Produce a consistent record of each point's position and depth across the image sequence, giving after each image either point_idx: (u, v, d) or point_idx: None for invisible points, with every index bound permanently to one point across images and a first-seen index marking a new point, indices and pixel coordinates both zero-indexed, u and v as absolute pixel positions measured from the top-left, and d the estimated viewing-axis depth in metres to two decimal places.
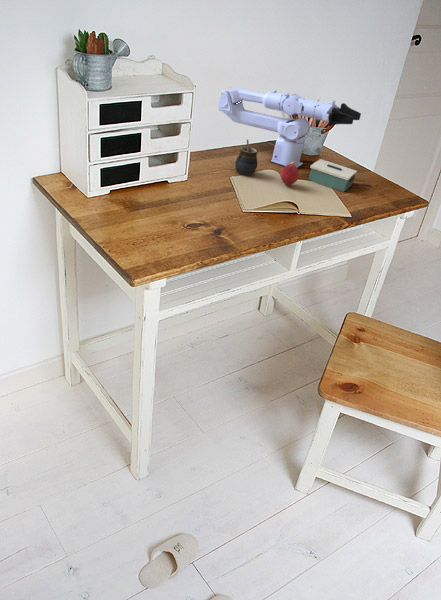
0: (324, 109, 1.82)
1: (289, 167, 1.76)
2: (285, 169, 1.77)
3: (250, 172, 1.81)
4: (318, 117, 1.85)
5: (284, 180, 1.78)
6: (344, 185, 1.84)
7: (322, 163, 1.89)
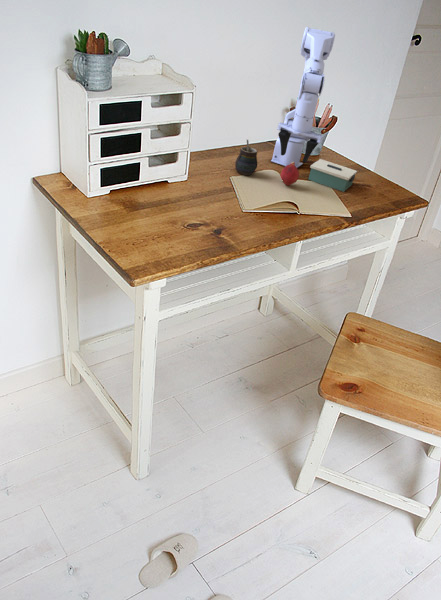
0: (292, 123, 1.70)
1: (289, 167, 1.76)
2: (285, 169, 1.77)
3: (250, 172, 1.81)
4: None
5: (284, 180, 1.78)
6: (344, 185, 1.84)
7: (322, 163, 1.89)
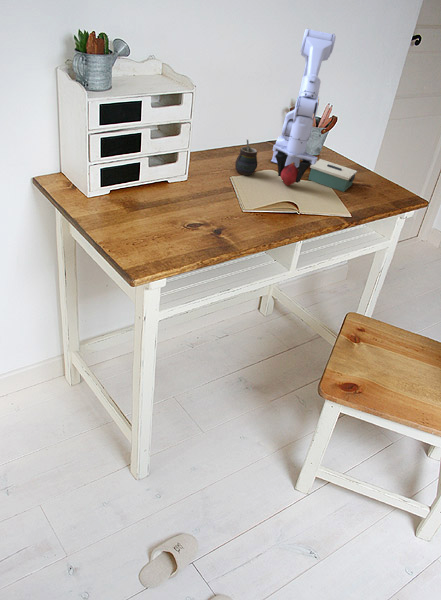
0: (287, 145, 1.74)
1: (289, 167, 1.76)
2: (285, 169, 1.77)
3: (250, 172, 1.81)
4: None
5: (284, 180, 1.78)
6: (344, 185, 1.84)
7: (322, 163, 1.89)
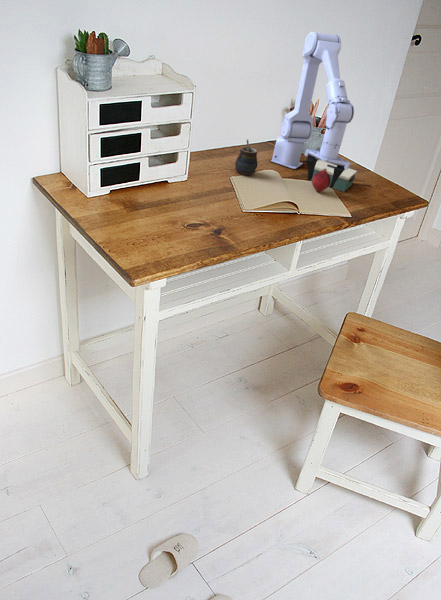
0: (320, 150, 1.74)
1: (321, 173, 1.76)
2: (317, 175, 1.77)
3: (250, 172, 1.81)
4: None
5: (316, 186, 1.78)
6: (344, 185, 1.84)
7: (322, 163, 1.89)
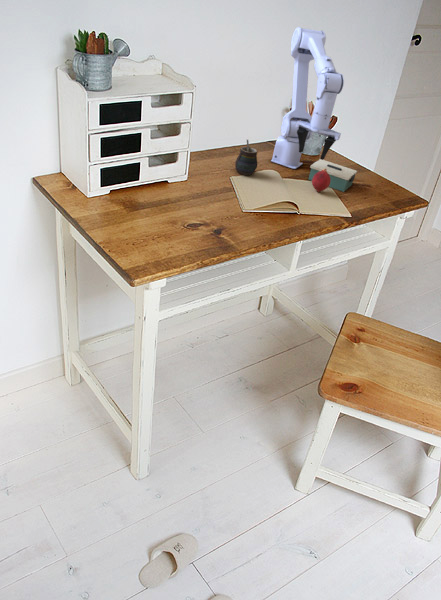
0: (311, 121, 1.75)
1: (321, 173, 1.76)
2: (317, 175, 1.77)
3: (250, 172, 1.81)
4: None
5: (316, 186, 1.78)
6: (344, 185, 1.84)
7: (322, 163, 1.89)
